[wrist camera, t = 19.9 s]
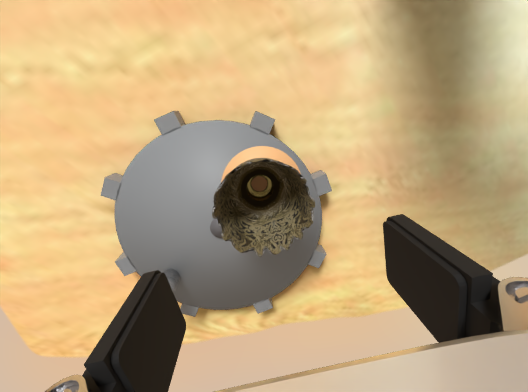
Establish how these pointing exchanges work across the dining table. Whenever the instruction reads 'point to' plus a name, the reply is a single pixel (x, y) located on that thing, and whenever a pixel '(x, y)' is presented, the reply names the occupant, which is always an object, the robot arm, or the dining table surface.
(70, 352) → the dining table surface
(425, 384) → the robot arm
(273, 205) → the cup
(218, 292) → the index wheel
